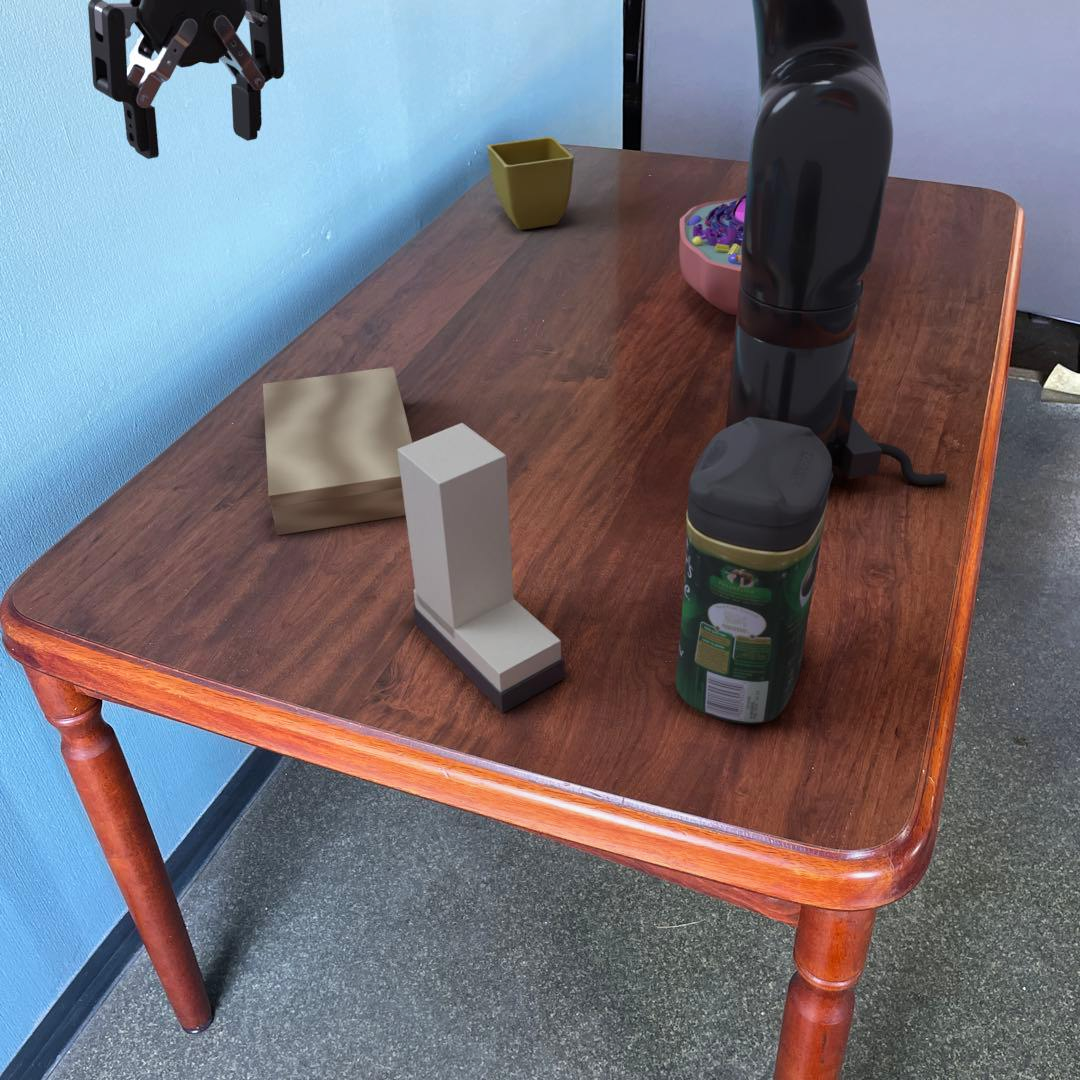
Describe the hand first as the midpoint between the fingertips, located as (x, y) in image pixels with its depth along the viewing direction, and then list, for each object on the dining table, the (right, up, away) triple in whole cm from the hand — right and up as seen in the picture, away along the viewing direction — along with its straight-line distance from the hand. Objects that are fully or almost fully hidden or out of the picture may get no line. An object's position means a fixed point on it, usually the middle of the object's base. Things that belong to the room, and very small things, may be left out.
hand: (198, 145), depth 81 cm
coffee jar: (+39, -39, -8) cm, 56 cm away
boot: (+22, -38, -5) cm, 44 cm away
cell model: (+49, -4, +36) cm, 61 cm away
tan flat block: (+8, -23, +14) cm, 28 cm away
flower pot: (+25, +11, +56) cm, 62 cm away
